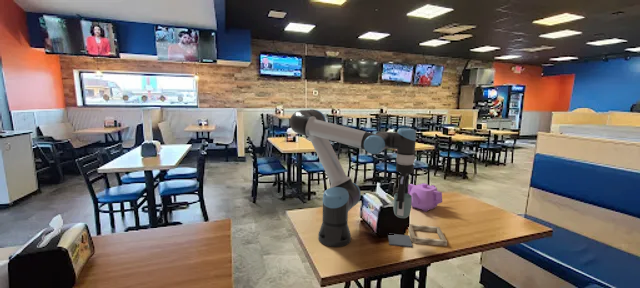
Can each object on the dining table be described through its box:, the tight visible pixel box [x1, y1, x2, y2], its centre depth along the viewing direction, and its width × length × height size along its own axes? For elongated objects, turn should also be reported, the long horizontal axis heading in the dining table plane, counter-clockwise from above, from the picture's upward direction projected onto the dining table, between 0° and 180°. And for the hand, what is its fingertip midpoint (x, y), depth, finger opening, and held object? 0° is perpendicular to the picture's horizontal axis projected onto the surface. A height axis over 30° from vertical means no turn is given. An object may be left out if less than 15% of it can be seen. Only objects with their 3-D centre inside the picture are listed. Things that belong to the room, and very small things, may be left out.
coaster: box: [387, 233, 413, 248], centre depth 129 cm, size 10×10×1 cm
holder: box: [407, 223, 448, 247], centre depth 134 cm, size 15×15×2 cm
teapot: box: [408, 182, 443, 213], centre depth 170 cm, size 19×18×15 cm
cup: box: [393, 192, 412, 219], centre depth 127 cm, size 8×8×10 cm
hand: (401, 211), depth 127 cm, fingers closed on cup, 8 cm apart
